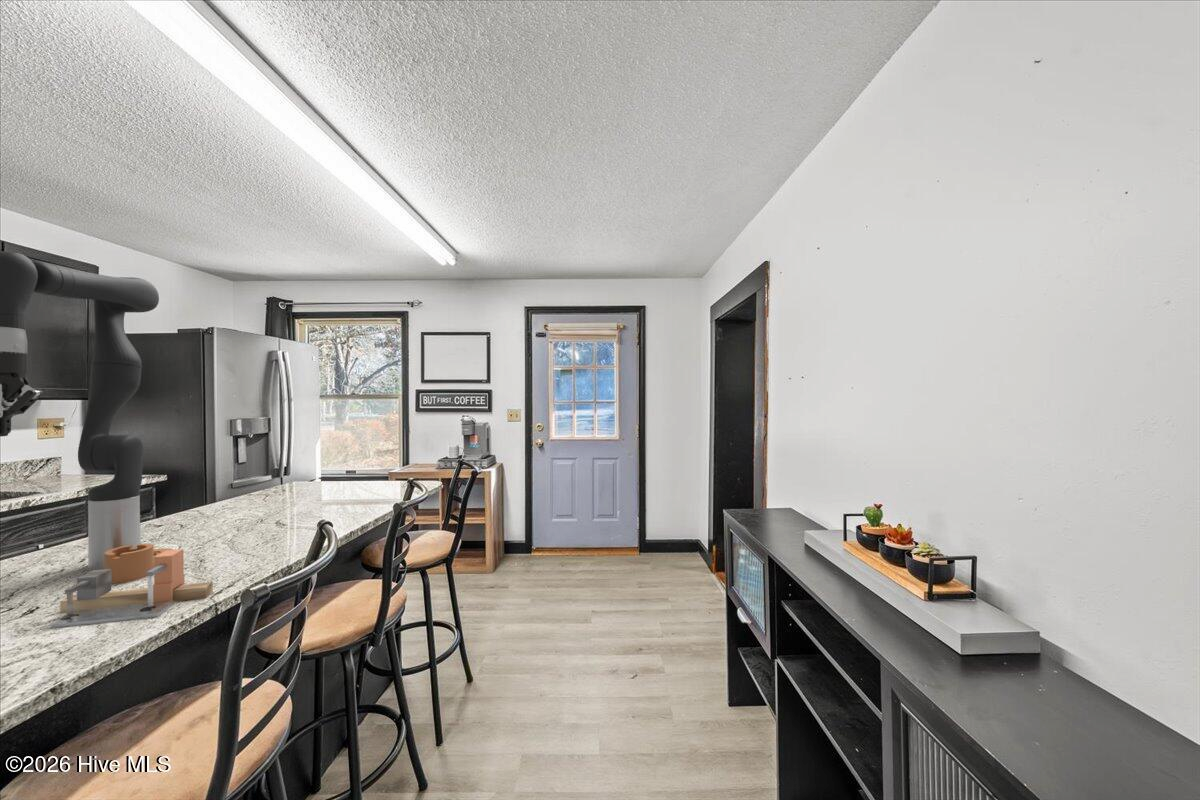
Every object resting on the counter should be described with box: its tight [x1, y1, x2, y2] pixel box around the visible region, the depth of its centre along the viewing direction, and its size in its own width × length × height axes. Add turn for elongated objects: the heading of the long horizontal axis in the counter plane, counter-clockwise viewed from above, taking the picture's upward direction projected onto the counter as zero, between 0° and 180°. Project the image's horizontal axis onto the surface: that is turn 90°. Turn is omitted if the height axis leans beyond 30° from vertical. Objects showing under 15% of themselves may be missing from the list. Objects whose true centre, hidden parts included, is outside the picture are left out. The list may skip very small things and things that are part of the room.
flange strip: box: [49, 601, 176, 629], centre depth 92 cm, size 6×16×1 cm, turn 107°
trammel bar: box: [59, 569, 214, 616], centre depth 96 cm, size 9×24×7 cm, turn 107°
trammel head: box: [146, 548, 186, 607], centre depth 98 cm, size 10×3×10 cm, turn 17°
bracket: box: [104, 543, 174, 584], centre depth 117 cm, size 18×8×7 cm, turn 21°
